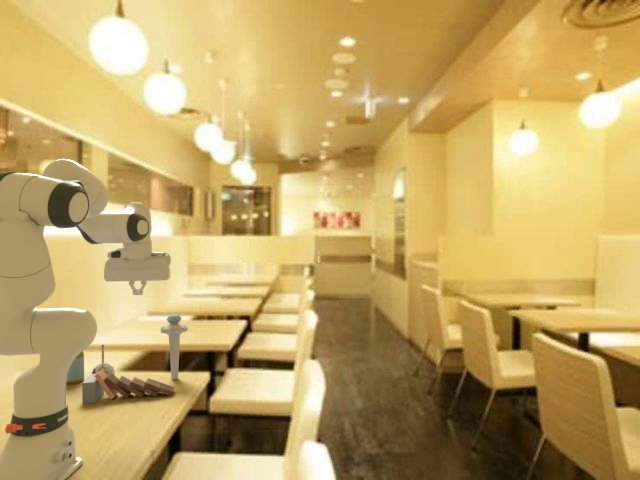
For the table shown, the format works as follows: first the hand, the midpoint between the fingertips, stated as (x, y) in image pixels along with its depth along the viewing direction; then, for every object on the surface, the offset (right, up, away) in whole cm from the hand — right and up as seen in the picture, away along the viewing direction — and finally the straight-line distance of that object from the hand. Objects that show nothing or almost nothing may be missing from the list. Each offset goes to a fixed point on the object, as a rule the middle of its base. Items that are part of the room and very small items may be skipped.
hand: (138, 294), depth 157 cm
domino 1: (-12, -37, +11) cm, 40 cm away
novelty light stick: (+2, -37, +31) cm, 48 cm away
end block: (-19, -37, +10) cm, 43 cm away
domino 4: (+2, -36, +13) cm, 39 cm away
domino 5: (+7, -36, +14) cm, 39 cm away
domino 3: (-3, -36, +12) cm, 38 cm away
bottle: (-36, -37, +28) cm, 59 cm away
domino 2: (-7, -36, +12) cm, 39 cm away
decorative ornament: (-23, -37, +25) cm, 50 cm away
